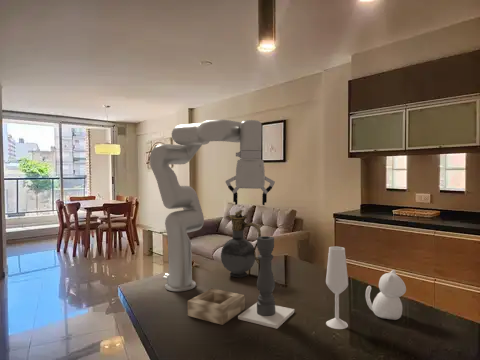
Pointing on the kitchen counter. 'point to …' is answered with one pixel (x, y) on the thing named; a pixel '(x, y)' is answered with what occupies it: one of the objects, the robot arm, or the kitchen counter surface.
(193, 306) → the socket block
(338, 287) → the champagne flute
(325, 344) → the kitchen counter surface
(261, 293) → the candle holder
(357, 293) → the kitchen counter surface
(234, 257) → the pitcher
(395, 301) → the cat figurine
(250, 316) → the ceramic tile
